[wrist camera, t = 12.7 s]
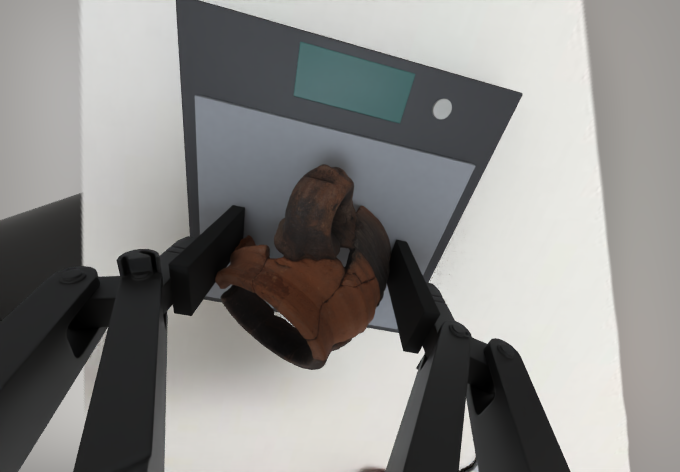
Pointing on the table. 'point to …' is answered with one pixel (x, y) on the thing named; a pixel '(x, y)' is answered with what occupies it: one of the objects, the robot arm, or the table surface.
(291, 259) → the brown hollow arched part
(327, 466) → the table surface
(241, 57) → the scale
